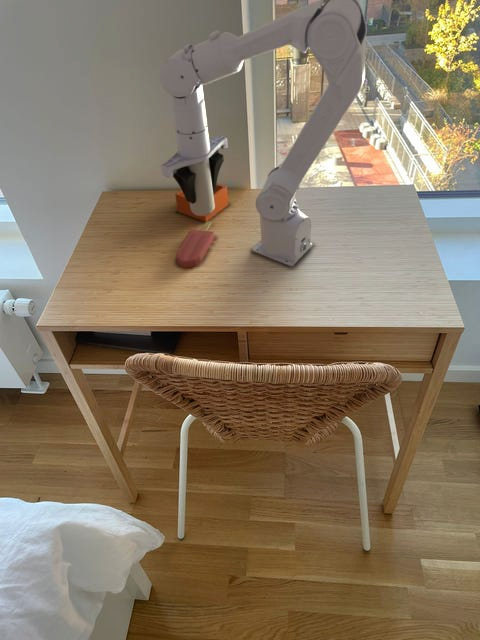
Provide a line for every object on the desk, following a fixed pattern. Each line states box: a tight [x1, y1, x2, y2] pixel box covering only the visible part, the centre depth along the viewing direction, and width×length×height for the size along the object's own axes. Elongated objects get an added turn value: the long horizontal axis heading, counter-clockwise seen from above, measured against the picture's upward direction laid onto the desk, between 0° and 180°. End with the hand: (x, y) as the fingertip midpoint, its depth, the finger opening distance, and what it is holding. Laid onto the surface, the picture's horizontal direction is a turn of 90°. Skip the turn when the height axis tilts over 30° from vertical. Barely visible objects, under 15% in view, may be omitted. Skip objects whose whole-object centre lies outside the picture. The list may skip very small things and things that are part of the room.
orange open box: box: [174, 183, 229, 223], centre depth 109 cm, size 8×8×5 cm
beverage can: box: [188, 158, 215, 216], centre depth 93 cm, size 5×5×12 cm
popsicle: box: [176, 220, 215, 268], centre depth 101 cm, size 5×2×15 cm
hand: (201, 195), depth 95 cm, fingers closed on beverage can, 5 cm apart
